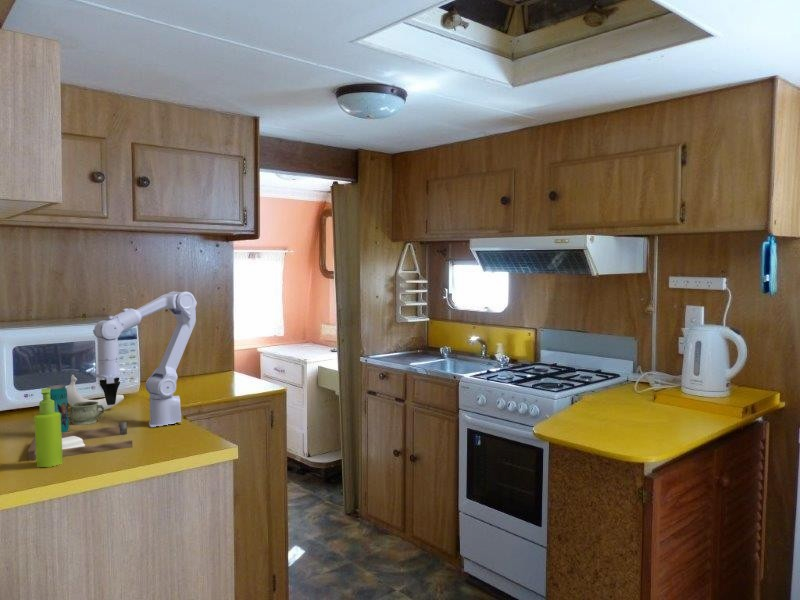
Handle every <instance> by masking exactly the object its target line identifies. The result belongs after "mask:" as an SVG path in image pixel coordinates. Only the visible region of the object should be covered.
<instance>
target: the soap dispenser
mask: <svg viewBox="0 0 800 600" xmlns="http://www.w3.org/2000/svg"><path fill="white" fill-rule="evenodd" d="M50 390H51V388H47V387H45V388H42V389H41V392H40V393H41V395H42V400H41V401H39V403H38V404H39V413H38V414H35V415H34V433H35V434H34V436H35V438H36V457H37V460H36V467H37V468H39V467H49V468H53V467H52V466H54V467H57V466H56V465H58V466H60V465H62V464H63V463H64V460H63V459H64V458H63V457H64V456H63V455H62V435H61V414H60V413H59V412H55V404H54V400H52V399H50ZM59 464H60V465H59Z"/></svg>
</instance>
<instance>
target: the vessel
mask: <svg viewBox="0 0 800 600" xmlns="http://www.w3.org/2000/svg"><path fill="white" fill-rule="evenodd" d="M97 404H98V402H94V401H89V402H79V403H74V404H71V405H70V404H69V407H68V412H70V415H69V416H68V421H69V423H70V422H72V420H73V422H72V425H74V424H76V425H75V426H81V425H82V426H83V425H89V424H94V423H96V422H98V419H102V418H103V414H104V413H105V410H104V407H103V406H102V405H97ZM98 408H102V411H101V412H100V411H98ZM97 417H98V419H97Z"/></svg>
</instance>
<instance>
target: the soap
mask: <svg viewBox="0 0 800 600" xmlns="http://www.w3.org/2000/svg"><path fill="white" fill-rule="evenodd" d="M84 446H86V444H85V443H84V439H81V438H79V437H76V436H71V437H66V438H62V449H68V448H76V447H84Z"/></svg>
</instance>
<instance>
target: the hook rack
mask: <svg viewBox="0 0 800 600" xmlns="http://www.w3.org/2000/svg"><path fill="white" fill-rule="evenodd" d="M127 428H128V426H127V421H121V422H118V425H115V426H106V427H99V428H89V429H80V430H72V431H68V432H62V433H61V435H62V438H66V437H71V436H76V437H79V438H81V439H82V440H91V439H97V438H98V439H99V438H106V437H113V436H123V435H127V434H128V431H127V430H128V429H127ZM90 438H91V439H90ZM129 448H133V440H132V439H131V440H125V441H124V440H123V441H119V442H107V443H100V444H92V445H85V446H84V447H76V448H68V449H62V455H63V457H68V456H75V455H82V454H91V453H98V452H105V451H106V452H107V451H113V450H121V449H122V450H123V449H129ZM36 459H37V457H36V438H35V435H34V437H33V439H32V441H31V444H30V446H29V448H28V450H27V461H28V460H32V461H37V460H36Z"/></svg>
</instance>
